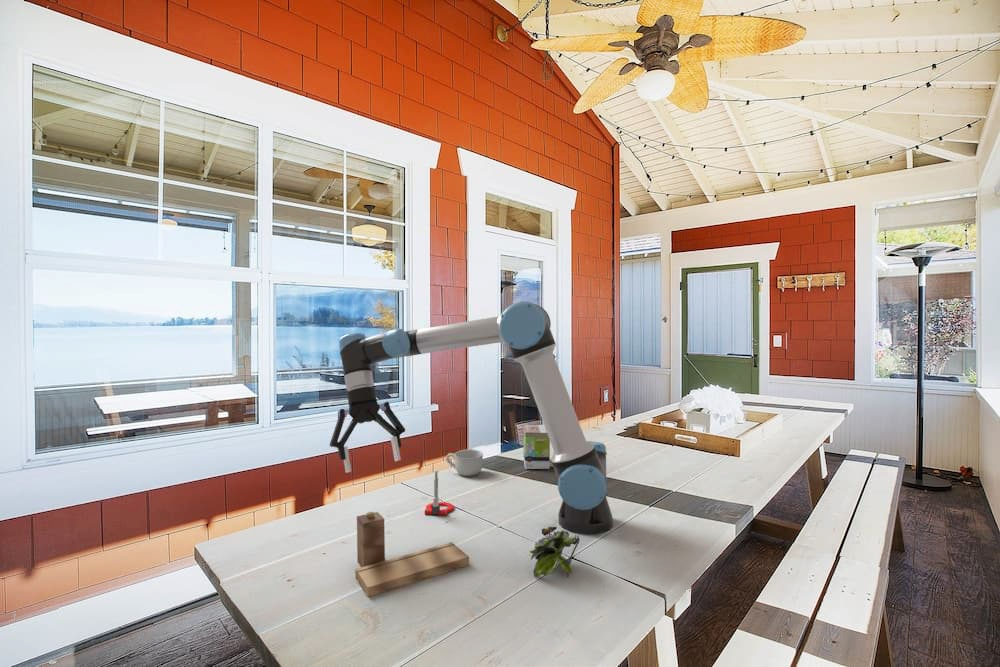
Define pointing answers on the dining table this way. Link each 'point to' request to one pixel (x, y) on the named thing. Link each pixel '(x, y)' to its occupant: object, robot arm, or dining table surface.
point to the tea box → (536, 447)
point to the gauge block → (370, 539)
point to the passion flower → (552, 551)
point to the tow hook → (437, 502)
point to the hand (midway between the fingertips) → (373, 466)
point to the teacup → (467, 462)
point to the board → (410, 568)
